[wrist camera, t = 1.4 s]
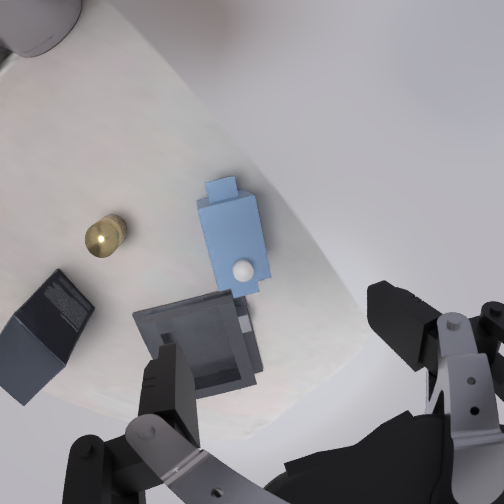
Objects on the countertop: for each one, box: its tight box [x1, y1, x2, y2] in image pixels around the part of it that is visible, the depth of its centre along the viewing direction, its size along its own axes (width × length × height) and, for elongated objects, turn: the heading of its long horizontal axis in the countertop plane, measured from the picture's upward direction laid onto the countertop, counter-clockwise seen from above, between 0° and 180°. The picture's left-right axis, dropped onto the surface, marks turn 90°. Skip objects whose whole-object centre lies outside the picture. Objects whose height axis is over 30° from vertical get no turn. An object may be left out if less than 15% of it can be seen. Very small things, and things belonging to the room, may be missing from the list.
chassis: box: [132, 289, 263, 399], centre depth 30 cm, size 12×12×3 cm
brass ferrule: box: [85, 215, 127, 258], centre depth 24 cm, size 3×3×4 cm
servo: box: [197, 176, 271, 298], centre depth 25 cm, size 10×4×6 cm, turn 12°
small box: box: [0, 269, 95, 406], centre depth 21 cm, size 11×6×10 cm, turn 127°
